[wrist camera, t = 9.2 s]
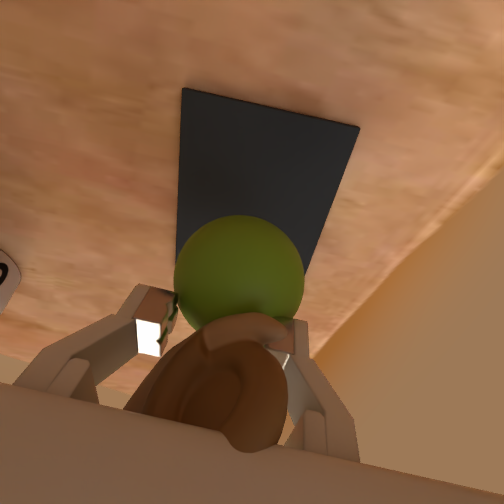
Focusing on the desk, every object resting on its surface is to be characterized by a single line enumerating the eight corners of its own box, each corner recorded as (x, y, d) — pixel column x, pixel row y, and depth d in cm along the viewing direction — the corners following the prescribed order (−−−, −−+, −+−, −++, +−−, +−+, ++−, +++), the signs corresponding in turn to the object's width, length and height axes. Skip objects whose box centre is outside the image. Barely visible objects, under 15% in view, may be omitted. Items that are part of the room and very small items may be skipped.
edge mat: (184, 87, 15) (181, 87, 14) (359, 126, 15) (360, 128, 14) (176, 269, 22) (174, 272, 21) (295, 296, 22) (295, 300, 21)
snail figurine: (161, 233, 15) (-102, 570, 5) (267, 172, 12) (122, 624, 3) (223, 303, 17) (116, 629, 8) (324, 263, 15) (357, 693, 5)
